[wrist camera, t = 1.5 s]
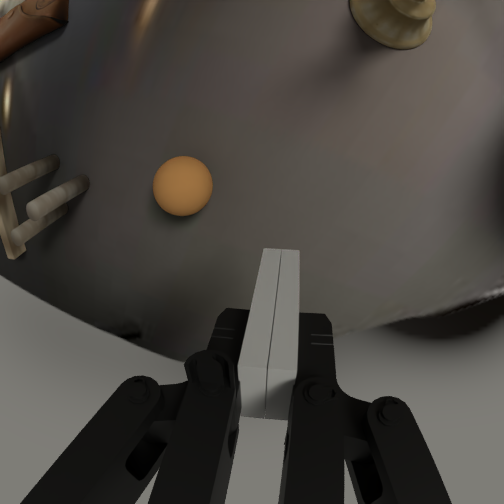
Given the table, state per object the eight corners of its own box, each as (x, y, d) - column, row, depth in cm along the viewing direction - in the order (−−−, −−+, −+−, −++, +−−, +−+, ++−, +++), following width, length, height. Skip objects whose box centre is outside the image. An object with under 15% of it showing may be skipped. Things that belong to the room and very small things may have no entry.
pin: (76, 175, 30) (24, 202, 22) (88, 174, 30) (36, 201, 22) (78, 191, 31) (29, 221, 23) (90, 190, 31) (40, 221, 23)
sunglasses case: (73, -30, 17) (39, -17, 14) (87, 11, 23) (56, 30, 20) (-9, 26, 20) (-38, 46, 16) (5, 57, 26) (-21, 80, 22)
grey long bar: (-7, 129, 28) (-21, 133, 25) (0, 126, 28) (-15, 130, 25) (19, 249, 38) (8, 258, 35) (26, 250, 37) (14, 259, 35)
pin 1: (48, 155, 29) (-4, 177, 22) (58, 153, 29) (5, 175, 21) (50, 170, 30) (0, 195, 23) (60, 169, 30) (9, 194, 22)
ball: (164, 152, 28) (139, 164, 23) (217, 150, 27) (200, 162, 22) (169, 203, 31) (146, 224, 26) (220, 204, 30) (205, 226, 25)
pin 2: (56, 200, 32) (8, 229, 24) (66, 199, 32) (18, 230, 24) (59, 214, 33) (14, 246, 25) (69, 214, 33) (23, 246, 25)
